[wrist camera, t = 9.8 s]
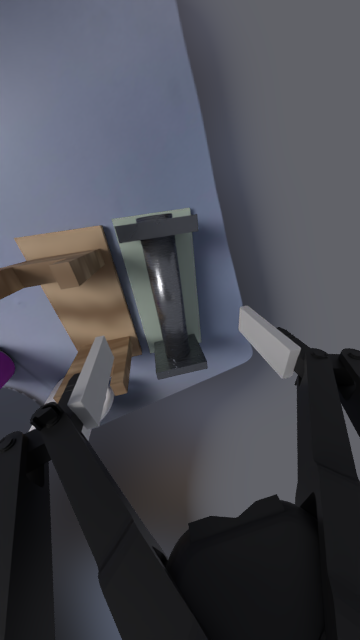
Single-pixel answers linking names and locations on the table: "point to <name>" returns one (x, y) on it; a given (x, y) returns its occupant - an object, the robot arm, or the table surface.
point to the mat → (142, 284)
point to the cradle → (79, 295)
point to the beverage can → (5, 368)
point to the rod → (167, 290)
